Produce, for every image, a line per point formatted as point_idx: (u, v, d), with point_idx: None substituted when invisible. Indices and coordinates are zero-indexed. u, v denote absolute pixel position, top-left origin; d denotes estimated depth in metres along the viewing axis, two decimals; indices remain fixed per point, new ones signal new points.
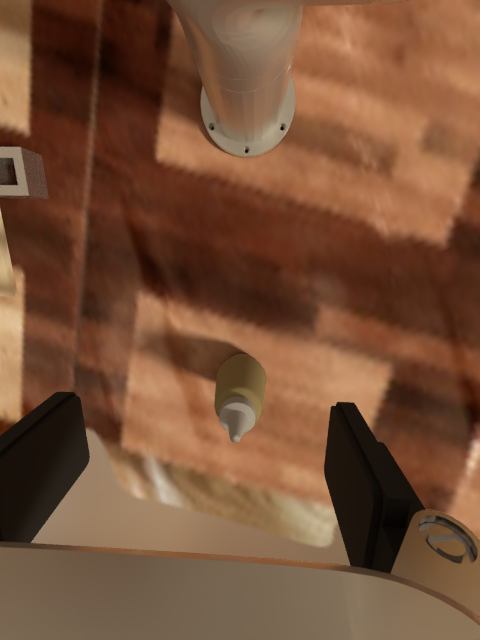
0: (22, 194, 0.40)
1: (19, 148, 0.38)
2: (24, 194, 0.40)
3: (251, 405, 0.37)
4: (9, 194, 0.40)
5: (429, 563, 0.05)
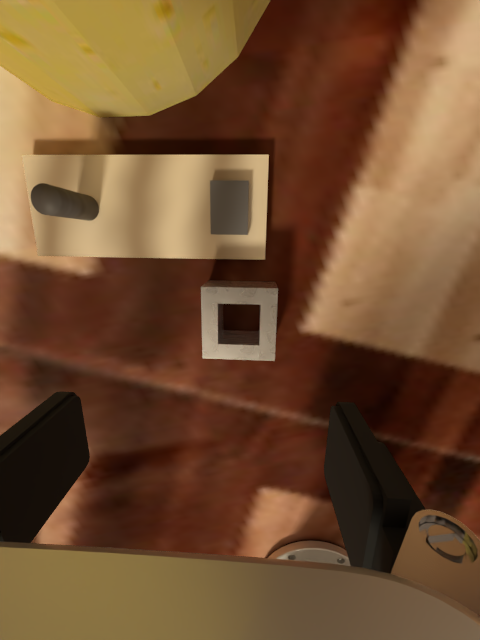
0: (203, 348, 0.24)
1: (272, 358, 0.24)
2: (204, 351, 0.24)
3: None
4: (203, 325, 0.23)
5: (429, 563, 0.05)
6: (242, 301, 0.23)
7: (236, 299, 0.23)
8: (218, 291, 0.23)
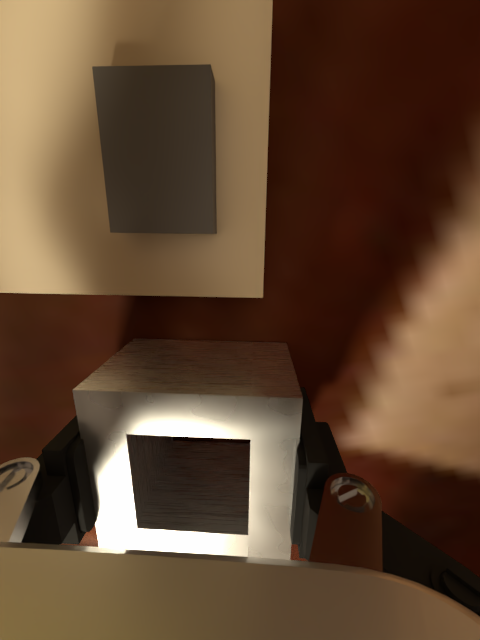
0: (101, 536, 0.09)
1: None
2: (102, 543, 0.09)
3: None
4: (93, 486, 0.08)
5: (342, 520, 0.06)
6: (196, 431, 0.08)
7: (179, 424, 0.08)
8: (125, 403, 0.08)
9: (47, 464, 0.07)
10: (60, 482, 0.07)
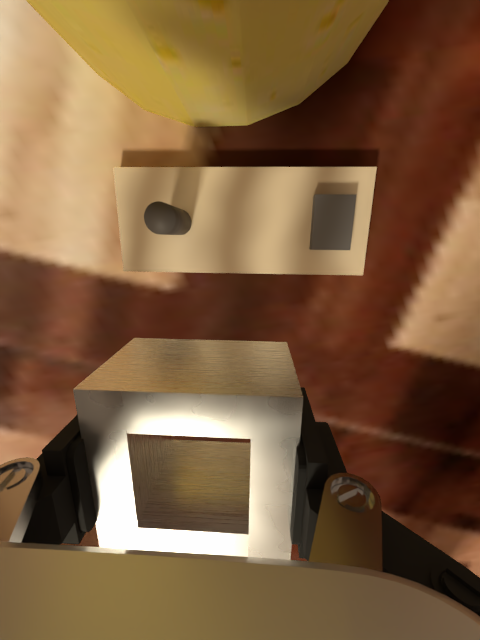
0: (102, 535, 0.09)
1: None
2: (103, 542, 0.09)
3: None
4: (94, 485, 0.09)
5: (341, 519, 0.06)
6: (196, 430, 0.08)
7: (180, 424, 0.08)
8: (125, 402, 0.08)
9: (47, 464, 0.07)
10: (60, 482, 0.07)
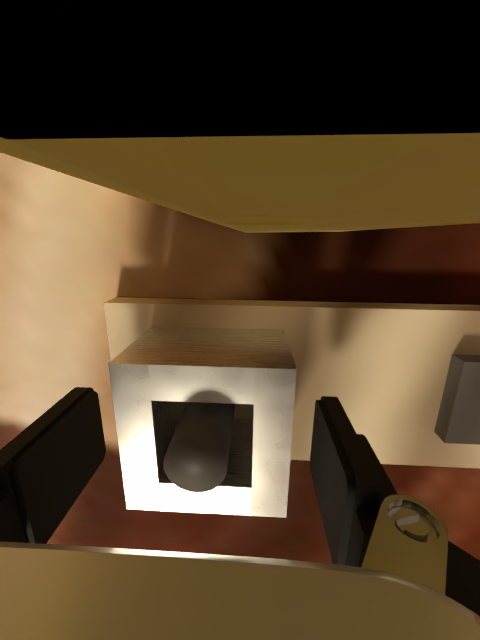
0: (128, 490, 0.11)
1: (281, 513, 0.11)
2: (128, 496, 0.11)
3: None
4: (122, 446, 0.10)
5: (398, 545, 0.05)
6: (209, 397, 0.09)
7: (196, 391, 0.09)
8: (151, 374, 0.09)
9: None
10: (2, 499, 0.07)
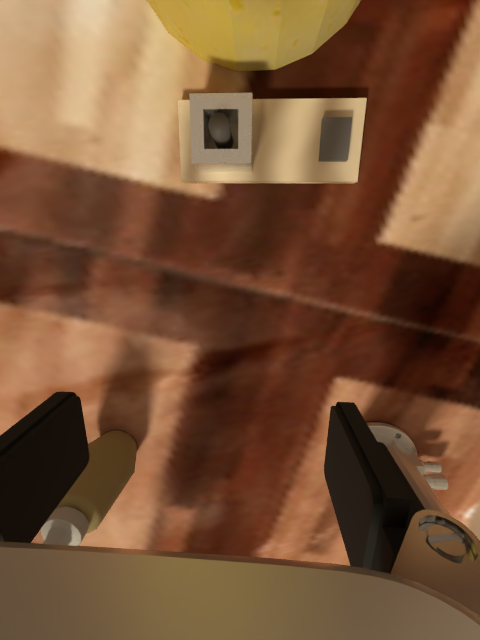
0: (192, 153, 0.29)
1: (249, 161, 0.29)
2: (192, 156, 0.29)
3: None
4: (191, 131, 0.28)
5: (429, 563, 0.05)
6: (223, 106, 0.28)
7: (218, 104, 0.28)
8: (203, 97, 0.27)
9: None
10: None
